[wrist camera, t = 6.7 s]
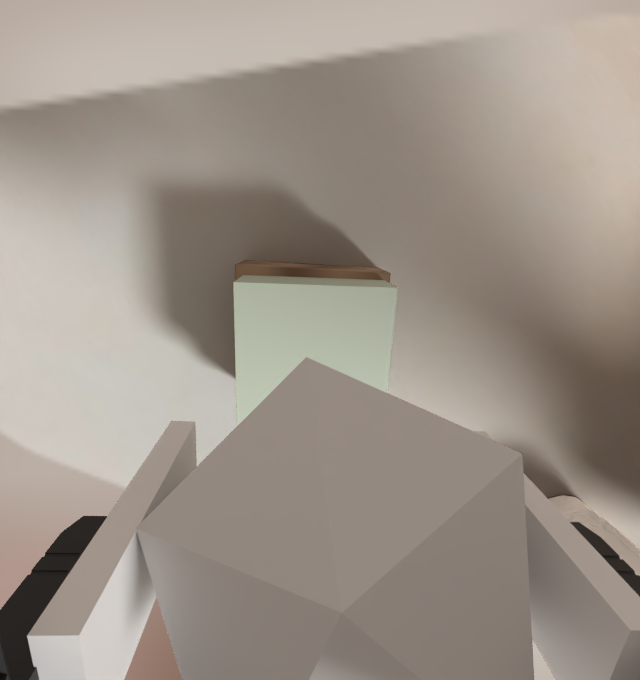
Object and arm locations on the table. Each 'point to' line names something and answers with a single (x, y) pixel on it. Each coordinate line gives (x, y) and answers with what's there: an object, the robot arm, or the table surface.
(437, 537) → the die
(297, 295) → the sage block
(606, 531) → the white cup
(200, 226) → the table surface
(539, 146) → the table surface
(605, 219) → the table surface
